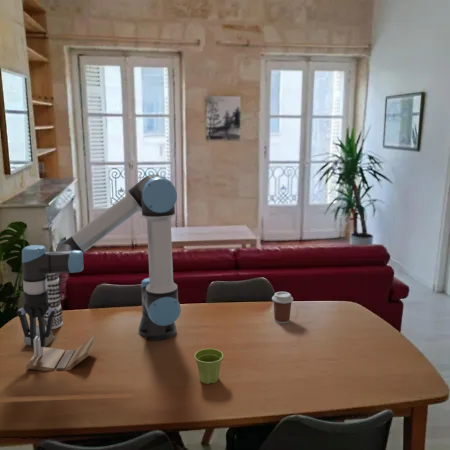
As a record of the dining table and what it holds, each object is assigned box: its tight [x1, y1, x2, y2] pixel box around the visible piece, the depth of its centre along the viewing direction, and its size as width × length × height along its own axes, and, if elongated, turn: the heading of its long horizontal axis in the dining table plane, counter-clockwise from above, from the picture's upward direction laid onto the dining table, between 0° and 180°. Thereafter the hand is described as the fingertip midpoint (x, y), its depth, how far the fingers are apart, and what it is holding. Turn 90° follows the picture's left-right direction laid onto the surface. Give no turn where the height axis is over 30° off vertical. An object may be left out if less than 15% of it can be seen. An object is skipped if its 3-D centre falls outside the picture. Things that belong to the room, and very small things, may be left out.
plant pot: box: [194, 348, 224, 385], centre depth 148 cm, size 9×9×9 cm
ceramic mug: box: [23, 325, 56, 347], centre depth 172 cm, size 11×8×8 cm
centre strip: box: [55, 349, 76, 371], centre depth 158 cm, size 3×13×2 cm, turn 4°
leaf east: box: [25, 346, 66, 372], centre depth 158 cm, size 9×13×1 cm
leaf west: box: [66, 334, 98, 371], centre depth 158 cm, size 9×13×1 cm
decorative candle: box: [44, 273, 64, 330], centre depth 188 cm, size 9×9×25 cm
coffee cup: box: [271, 291, 294, 324], centre depth 194 cm, size 9×9×12 cm
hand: (38, 355), depth 157 cm, fingers closed
